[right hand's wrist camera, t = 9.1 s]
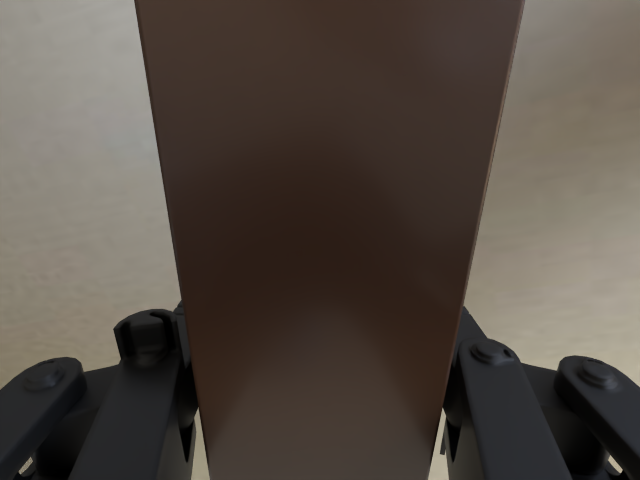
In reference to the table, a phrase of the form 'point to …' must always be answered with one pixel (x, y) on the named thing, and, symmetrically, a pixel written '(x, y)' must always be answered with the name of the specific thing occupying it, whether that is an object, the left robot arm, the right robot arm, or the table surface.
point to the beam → (324, 217)
